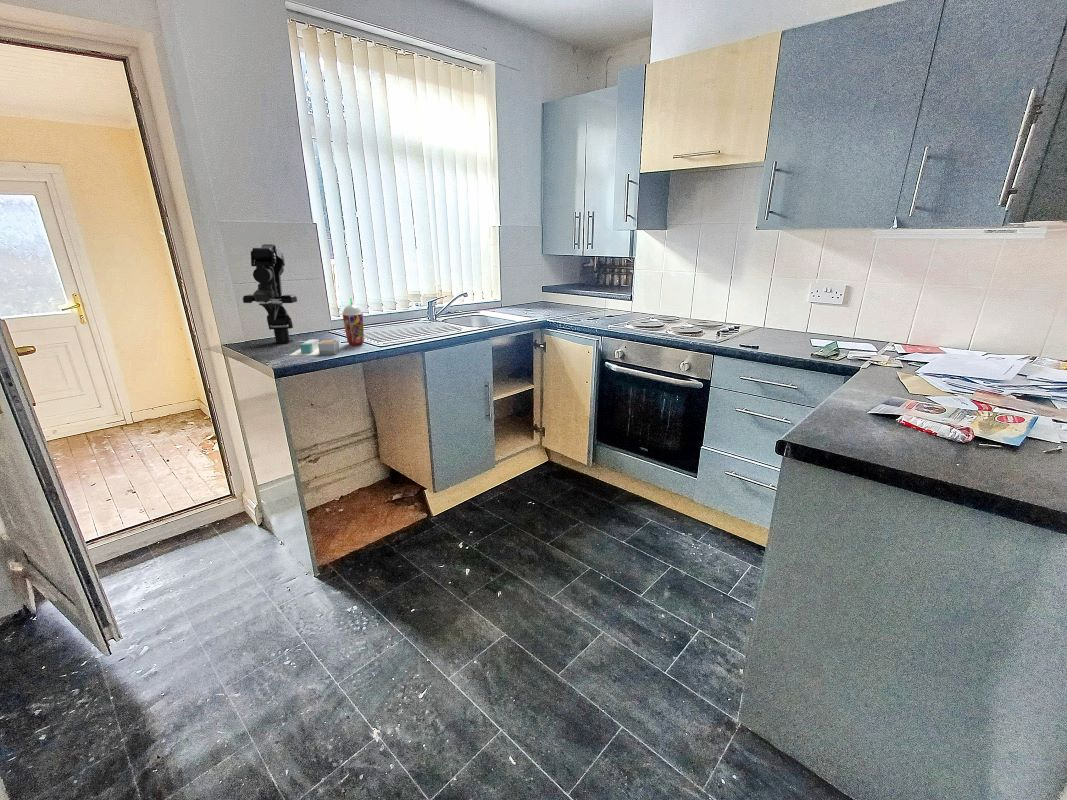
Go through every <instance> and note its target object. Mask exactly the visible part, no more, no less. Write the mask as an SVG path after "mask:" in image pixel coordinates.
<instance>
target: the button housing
mask: <svg viewBox="0 0 1067 800" xmlns="http://www.w3.org/2000/svg"><path fill="white" fill-rule="evenodd" d="M323 341H325V340H321V341H320V342H319V343H318V347H319V355H321V356H322V355H325V356H326V355H329V356H330V355H334V356H335V355H336V354H338V353H339V352H340V349H341V348H340V342H339V340H335V342H334V343H321V342H323Z"/></svg>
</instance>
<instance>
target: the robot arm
mask: <svg viewBox="0 0 1067 800" xmlns="http://www.w3.org/2000/svg"><path fill="white" fill-rule="evenodd" d="M250 264H251V267H255V269H254V270H253V273H252V277H253V279H254V280H255V282H258V284H257V289H256V290H255V291H254V293H253V294H246V295H243V296H242V302H243V304H252V303H253V302H256V303H258V306H261V307H263V308H264V310H266V312H267V315H266V321H267V324H268V329H269V330H273V334H274V339H275V341H272V342H271V343H272V344H289V343H292V342H293V341H294V339H293V338H292V339H291V338H290V332H289V330H290V329H294V325H293V321H292V318H291V317H290V315H289V314H288V311H287V309H286V308H285V307H284V304H293V303H297V302H298V297H297V296H296V295H295V294H284V295H283V289H282V280H281V276H282V274H283V273H284V271H285V269H284V267H285V265H286V262H285V258H284V255H283V252H282V251H280V250H279V249H278V248H277V246H276V245H275V244H273V243H272V244H270V243H269V244H264V243H263V244H262V245H261V247H252V249H251V250H250Z"/></svg>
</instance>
